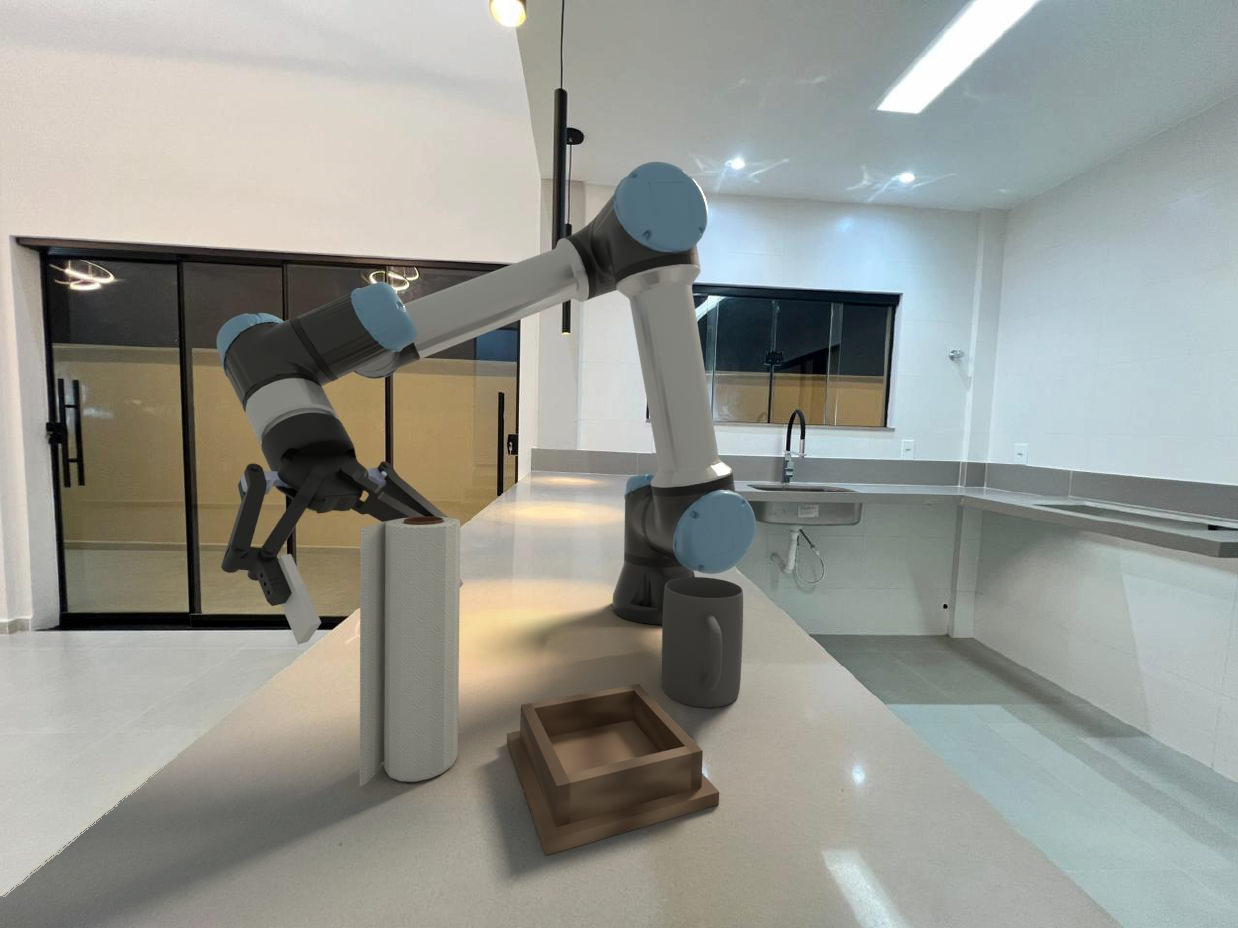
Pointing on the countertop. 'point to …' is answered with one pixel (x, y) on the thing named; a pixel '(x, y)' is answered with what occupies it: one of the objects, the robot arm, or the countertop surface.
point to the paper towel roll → (409, 647)
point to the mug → (702, 641)
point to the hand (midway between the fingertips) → (391, 610)
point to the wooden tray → (605, 766)
